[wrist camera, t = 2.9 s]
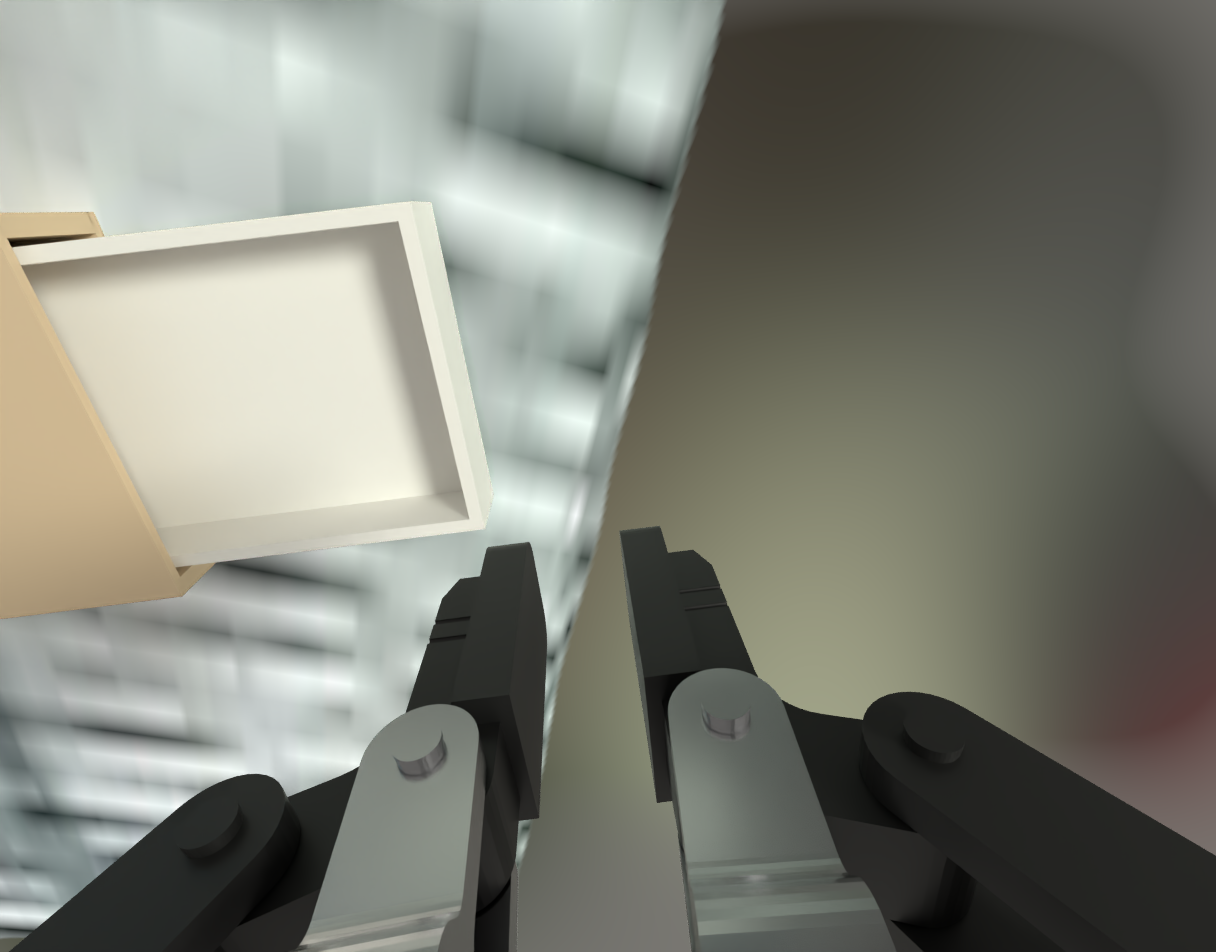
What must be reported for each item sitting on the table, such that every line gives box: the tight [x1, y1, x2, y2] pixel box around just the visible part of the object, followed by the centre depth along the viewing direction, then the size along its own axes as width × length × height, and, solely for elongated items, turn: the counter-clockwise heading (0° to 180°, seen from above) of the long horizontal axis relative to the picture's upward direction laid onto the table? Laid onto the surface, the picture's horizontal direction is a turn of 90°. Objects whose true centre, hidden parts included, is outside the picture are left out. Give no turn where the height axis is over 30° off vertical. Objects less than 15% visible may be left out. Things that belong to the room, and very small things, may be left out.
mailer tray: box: [12, 201, 494, 567], centre depth 25 cm, size 32×14×4 cm, turn 96°
